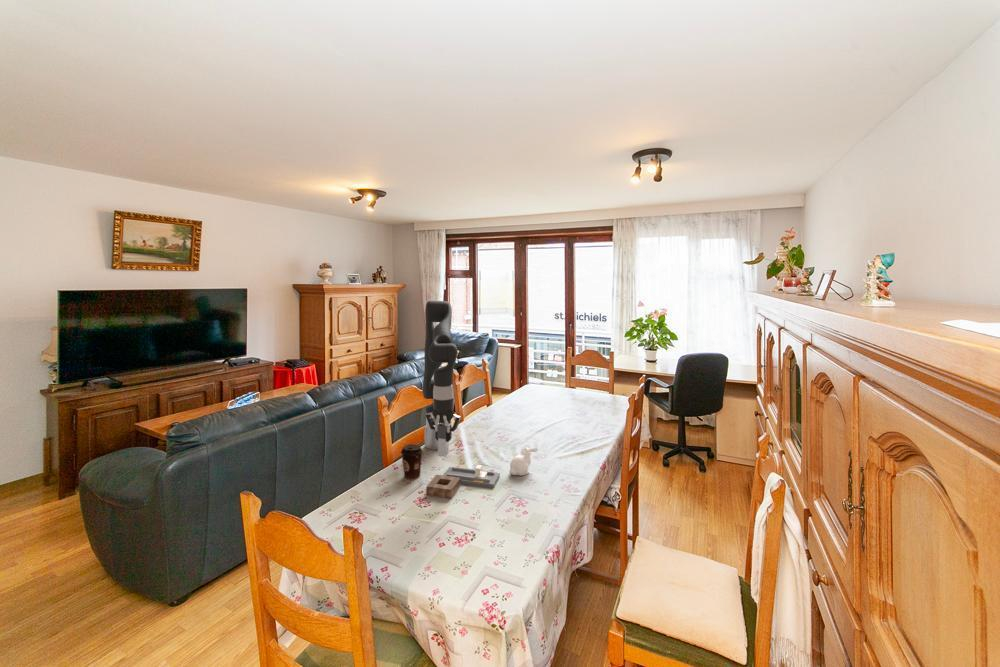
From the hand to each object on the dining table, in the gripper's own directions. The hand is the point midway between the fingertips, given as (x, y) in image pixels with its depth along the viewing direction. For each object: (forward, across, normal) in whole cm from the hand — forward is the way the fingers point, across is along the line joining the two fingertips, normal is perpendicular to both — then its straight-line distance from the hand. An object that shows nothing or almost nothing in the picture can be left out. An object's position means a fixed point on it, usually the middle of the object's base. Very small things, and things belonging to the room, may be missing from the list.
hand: (443, 440), depth 163 cm
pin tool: (+6, 0, 0) cm, 6 cm away
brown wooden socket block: (+21, 0, 0) cm, 21 cm away
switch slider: (+18, +11, +12) cm, 25 cm away
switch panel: (+21, +7, +12) cm, 25 cm away
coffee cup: (+21, -17, +8) cm, 28 cm away
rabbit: (+21, +26, +25) cm, 42 cm away
